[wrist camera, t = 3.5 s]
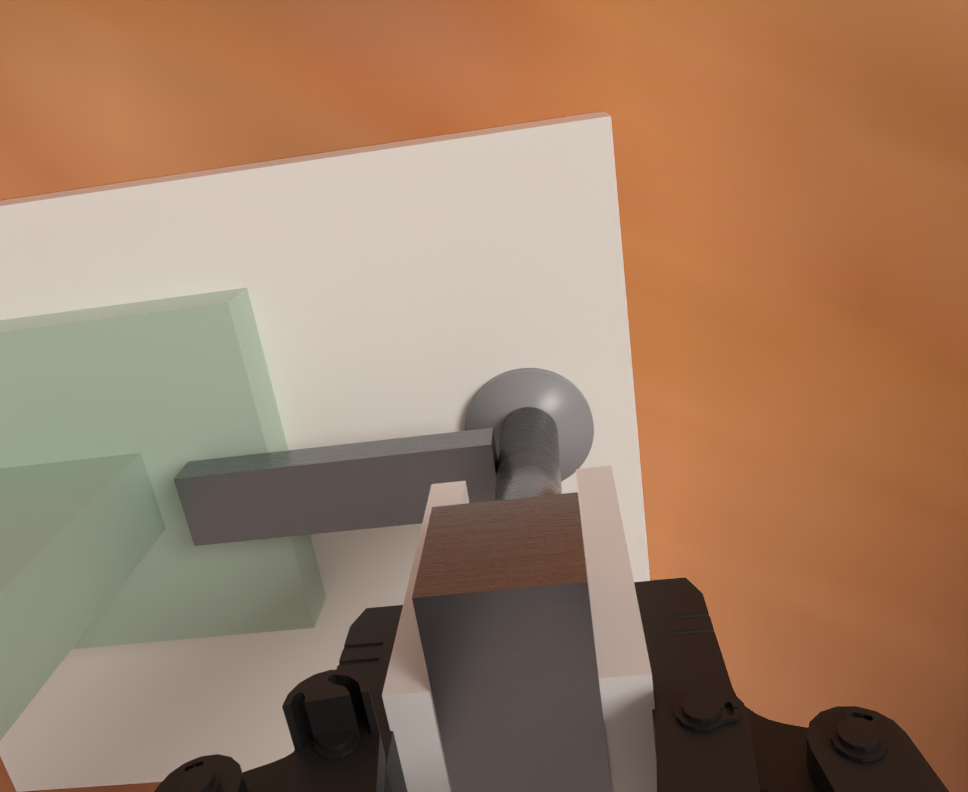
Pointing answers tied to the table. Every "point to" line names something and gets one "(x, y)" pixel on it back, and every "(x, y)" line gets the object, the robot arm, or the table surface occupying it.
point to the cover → (132, 484)
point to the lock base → (339, 379)
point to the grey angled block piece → (455, 582)
